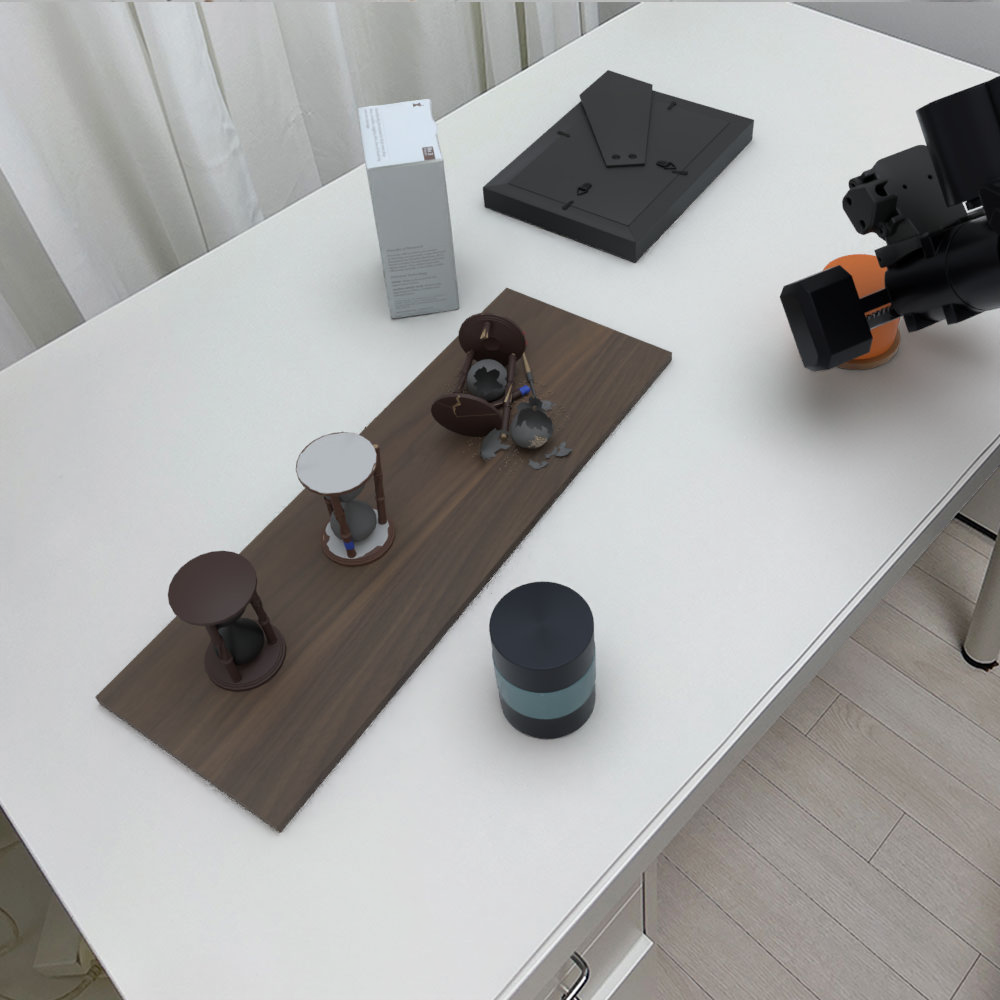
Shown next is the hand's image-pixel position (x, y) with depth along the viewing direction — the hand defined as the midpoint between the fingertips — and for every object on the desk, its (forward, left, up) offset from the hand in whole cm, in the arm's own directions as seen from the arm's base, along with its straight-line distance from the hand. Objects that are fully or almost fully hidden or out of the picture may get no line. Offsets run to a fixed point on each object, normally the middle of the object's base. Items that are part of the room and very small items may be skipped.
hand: (846, 301), depth 84 cm
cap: (-1, +1, -2) cm, 2 cm away
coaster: (-1, +1, -3) cm, 3 cm away
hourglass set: (+32, +18, -3) cm, 37 cm away
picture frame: (+16, -22, -3) cm, 27 cm away
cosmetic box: (+33, -7, -3) cm, 34 cm away
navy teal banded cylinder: (+22, +32, -3) cm, 39 cm away
